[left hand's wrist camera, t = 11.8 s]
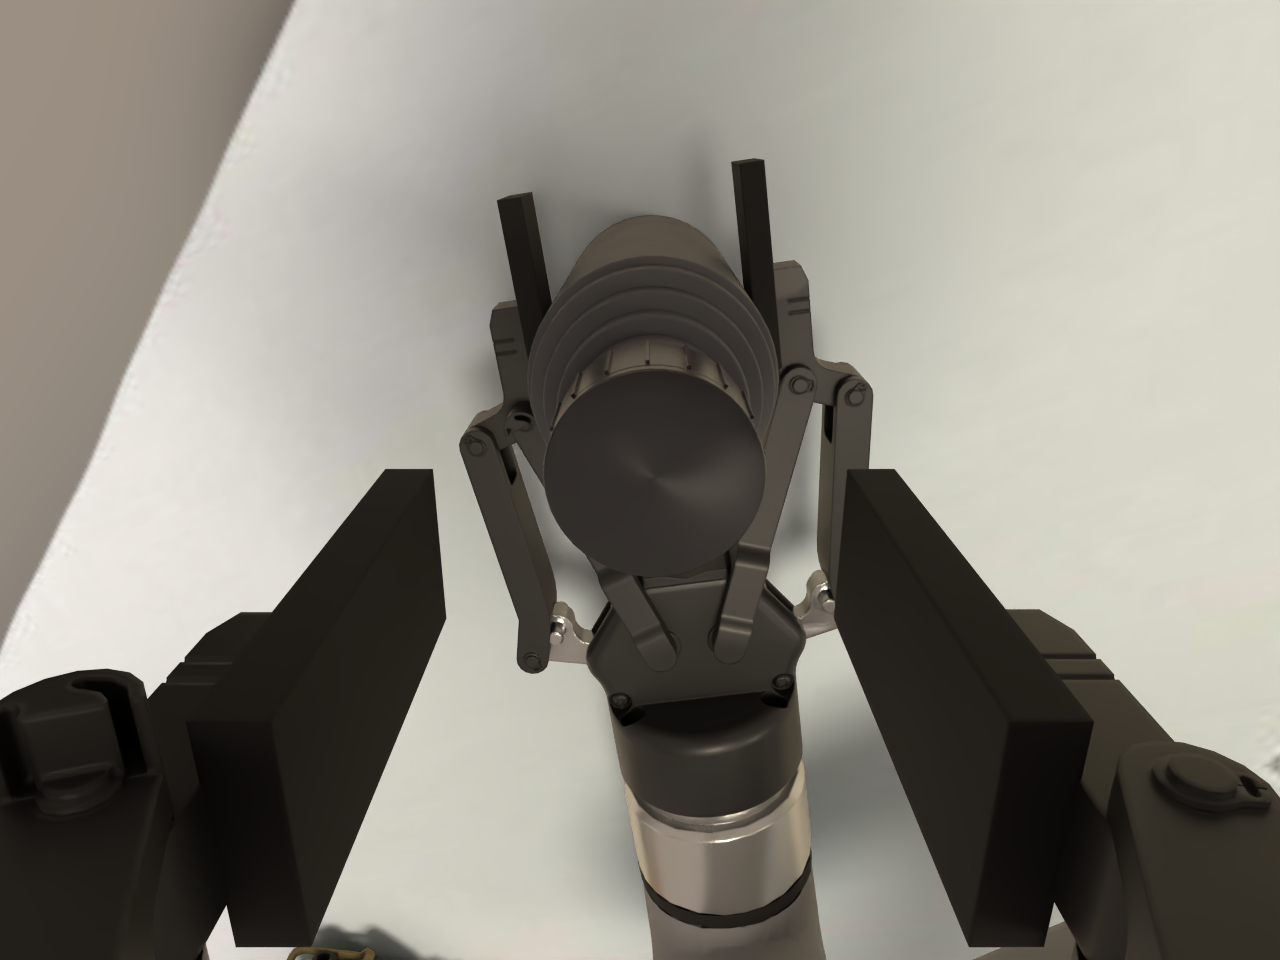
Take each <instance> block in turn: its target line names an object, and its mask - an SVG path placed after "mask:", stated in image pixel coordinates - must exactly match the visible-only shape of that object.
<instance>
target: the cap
mask: <svg viewBox="0 0 1280 960" xmlns="http://www.w3.org/2000/svg"><path fill="white" fill-rule="evenodd" d="M753 418H755V417H754V414H753V412H752V409H751V407H750V404H749V402H748V399H747V396H746V394H745V392H744V390H743V391H740V389H739V387H738V386H737V384H736V383H735V382H734V380H733V379H732V378H731V376H730V375H729V374H728V373H727V372H726V371H725V370H724V369H723V367H722V364H721V363H718V364H717V363H715V362H714V361H713V360H711V359H710V358H708V357H706V356H705V355H703V354H701V353H699V352H697V351H694V350H692V349H690V348H688V346H687V345H684V347H683V346H680V345H676V344H669V343H662V342H650V341H645V343H639V344H633V345H629V346H625V347H622V348H619V349H617V350H614V351H612V350H609V351H608V353H607V354H606V355H604V356H602V357H600V358H599V359H597V360H596V361H594V362H593V363H592V364H591V365H589V366H588V367H587V368H586V369H585V370H584V371H583V372H582V373H581V372H580V371H579V372H578V373H577V376H576V379H575V381H574V382H573V383H572V385H571V386H570V388H569V389H568V391H567V393H566V395H565V396H564V398H563V401H562V403H561V402H559V403H558V406H557V409H556V411H555V414H554V417H553V420H552V423H551V426H550V429H549V430H550V431H552V432H551V435H550V438H549V441H548V445H547V449H546V453H545V458H544V463H543V474H544V487H545V492H546V498H547V501H548V504H549V507H550V510H551V512H552V514H553V516H554V518H555V520H556V522H557V523H558V525H559V526H560V528H561V529H562V531H563V532H564V534H565V535H566V536H567V537H568V538H569V540H570V541H571V542H572V543H573V544H574V545H575V546H576V547H577V548H579V549H580V550H581V551H582V552H583V553H584V554H586V555H587V556H589V557H590V558H592V559H593V560H595V561H597V562H599V563H601V564H602V565H604V566H606V567H609V568H611V569H614V570H617V571H619V572H623V573H627V574H632V575H638V576H646V577H662V576H671V575H677V574H681V573H686V572H689V571H692V570H695V569H698V568H700V567H703V566H705V565H707V564H709V563H710V562H712V561H714V560H716V559H717V558H719V557H720V556H722V555H723V554H725V553H726V552H727V551H728V550H729V549H730V548H732V547H733V546H734V545H735V544H736V543H737V542H738V541H739V540H740V539H741V537H742V536H743V535H744V534H745V533H746V531H747V530H748V528H749V527H750V525H751V524H752V522H753V520H754V518H755V516H756V514H757V512H758V510H759V508H760V505H761V502H762V499H763V495H764V490H765V484H766V462H765V455H766V451H765V448H764V446H763V443H762V441H761V438H760V435H759V433H758V430H757V427H756V425H755V424H754V421H753Z"/></svg>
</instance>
